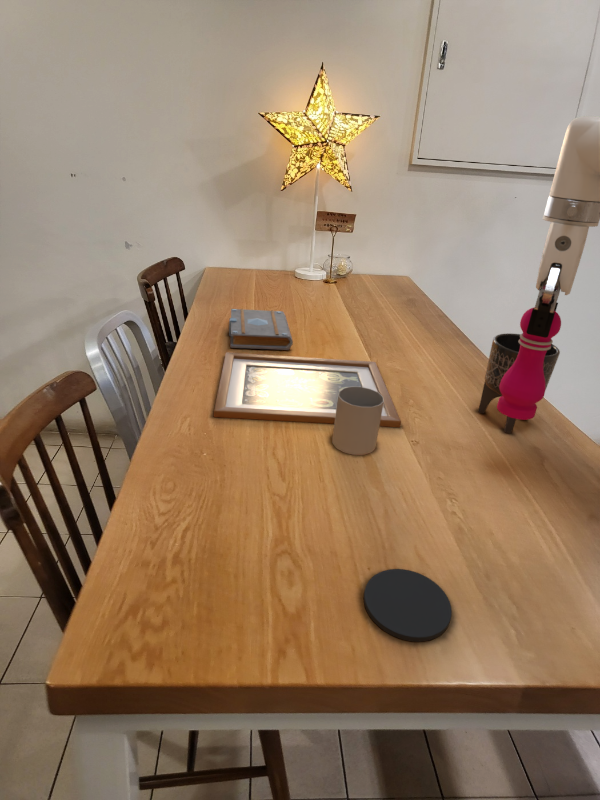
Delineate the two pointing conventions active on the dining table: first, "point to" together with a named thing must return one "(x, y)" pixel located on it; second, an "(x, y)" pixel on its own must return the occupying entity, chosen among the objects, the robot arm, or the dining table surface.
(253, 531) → the dining table surface
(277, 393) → the wall art
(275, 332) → the book
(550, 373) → the planter
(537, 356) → the pepper mill
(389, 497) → the dining table surface
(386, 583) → the trivet
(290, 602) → the dining table surface
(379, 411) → the cup
